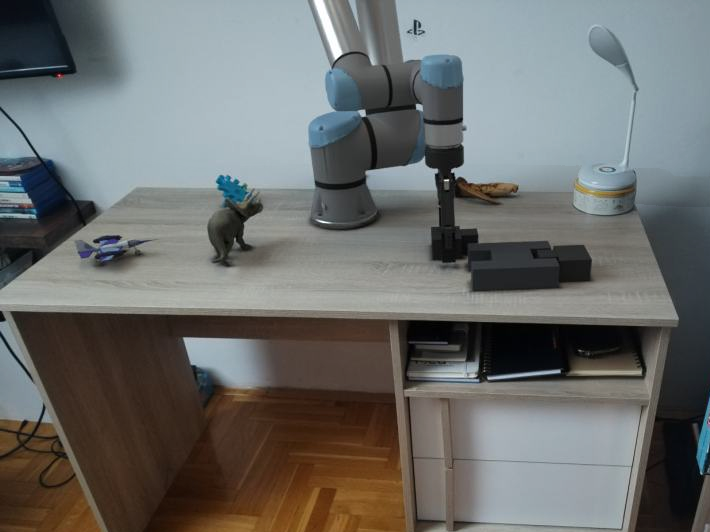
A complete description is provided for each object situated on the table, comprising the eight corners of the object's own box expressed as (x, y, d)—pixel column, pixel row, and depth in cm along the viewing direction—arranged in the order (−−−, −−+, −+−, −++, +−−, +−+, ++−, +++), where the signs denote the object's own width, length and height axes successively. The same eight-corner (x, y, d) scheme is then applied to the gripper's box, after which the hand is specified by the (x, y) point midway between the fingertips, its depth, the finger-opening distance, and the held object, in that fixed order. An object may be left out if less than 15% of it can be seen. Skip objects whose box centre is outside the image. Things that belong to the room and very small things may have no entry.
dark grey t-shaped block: (431, 246, 138) (430, 226, 135) (476, 244, 138) (476, 225, 136) (432, 259, 132) (431, 239, 129) (479, 258, 132) (479, 238, 130)
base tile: (467, 263, 130) (467, 243, 128) (546, 260, 131) (548, 240, 128) (472, 291, 120) (472, 269, 117) (558, 287, 120) (559, 266, 118)
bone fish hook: (445, 205, 160) (518, 205, 158) (444, 187, 157) (518, 186, 156) (448, 191, 168) (518, 191, 166) (447, 174, 165) (518, 173, 164)
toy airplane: (167, 249, 137) (162, 233, 136) (114, 276, 127) (109, 259, 125) (120, 241, 142) (116, 225, 140) (66, 266, 131) (60, 250, 129)
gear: (242, 208, 154) (210, 176, 152) (228, 224, 156) (197, 193, 155) (264, 199, 164) (235, 169, 162) (250, 214, 166) (222, 185, 165)
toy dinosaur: (221, 281, 124) (208, 225, 118) (181, 277, 126) (167, 222, 120) (271, 237, 143) (263, 187, 137) (236, 234, 144) (226, 185, 138)
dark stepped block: (534, 266, 128) (535, 246, 126) (581, 265, 129) (583, 244, 126) (540, 282, 122) (541, 261, 120) (589, 280, 123) (592, 259, 120)
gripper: (468, 161, 112) (470, 273, 123) (459, 129, 134) (461, 226, 145) (425, 162, 112) (430, 274, 123) (423, 130, 134) (427, 228, 144)
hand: (447, 249), depth 134 cm, fingers open, 13 cm apart
